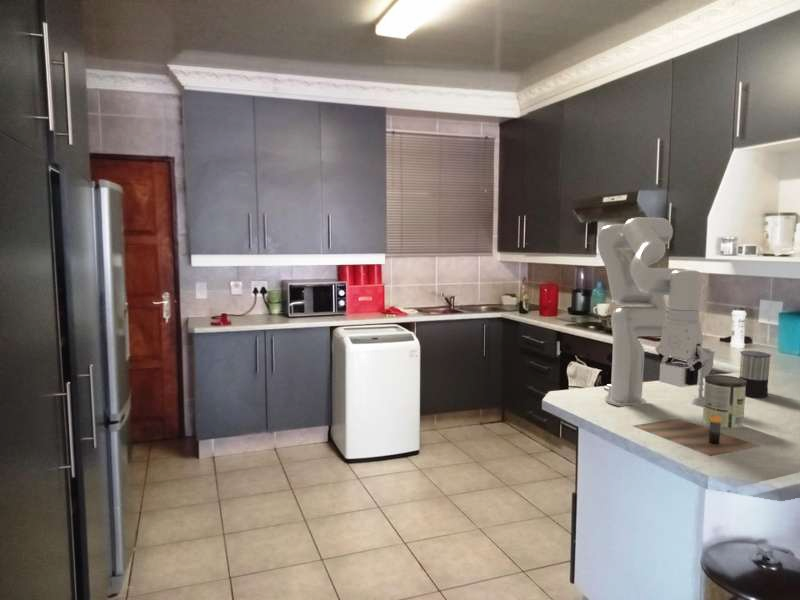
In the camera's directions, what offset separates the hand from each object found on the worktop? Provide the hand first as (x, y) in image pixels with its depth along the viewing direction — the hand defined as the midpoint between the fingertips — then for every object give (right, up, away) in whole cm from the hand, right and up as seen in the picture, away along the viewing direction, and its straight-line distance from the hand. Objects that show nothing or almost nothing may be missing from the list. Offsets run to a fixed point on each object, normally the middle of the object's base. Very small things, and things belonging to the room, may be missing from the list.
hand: (679, 381), depth 151 cm
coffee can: (+16, -15, +9) cm, 24 cm away
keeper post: (+4, -14, -9) cm, 17 cm away
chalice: (+23, -12, +32) cm, 41 cm away
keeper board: (+2, -15, -3) cm, 16 cm away
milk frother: (+45, -11, +47) cm, 66 cm away
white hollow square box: (0, -1, 0) cm, 1 cm away
